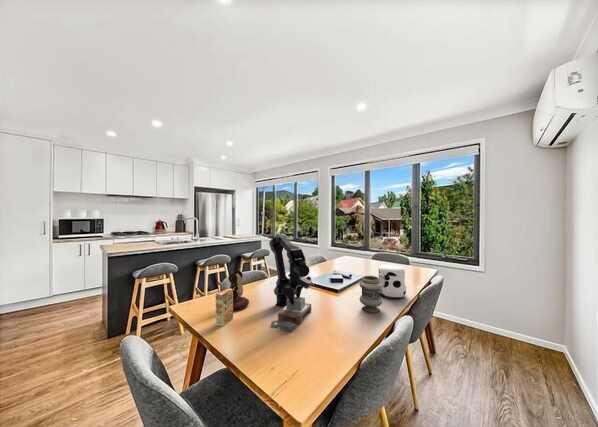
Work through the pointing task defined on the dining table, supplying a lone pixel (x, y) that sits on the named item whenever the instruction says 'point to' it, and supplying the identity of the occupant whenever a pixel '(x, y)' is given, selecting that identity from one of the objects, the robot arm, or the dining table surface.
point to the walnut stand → (294, 313)
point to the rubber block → (287, 326)
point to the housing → (296, 303)
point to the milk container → (392, 281)
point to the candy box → (224, 307)
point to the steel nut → (275, 324)
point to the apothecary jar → (371, 294)
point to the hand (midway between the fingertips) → (295, 301)
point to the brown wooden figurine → (237, 290)
